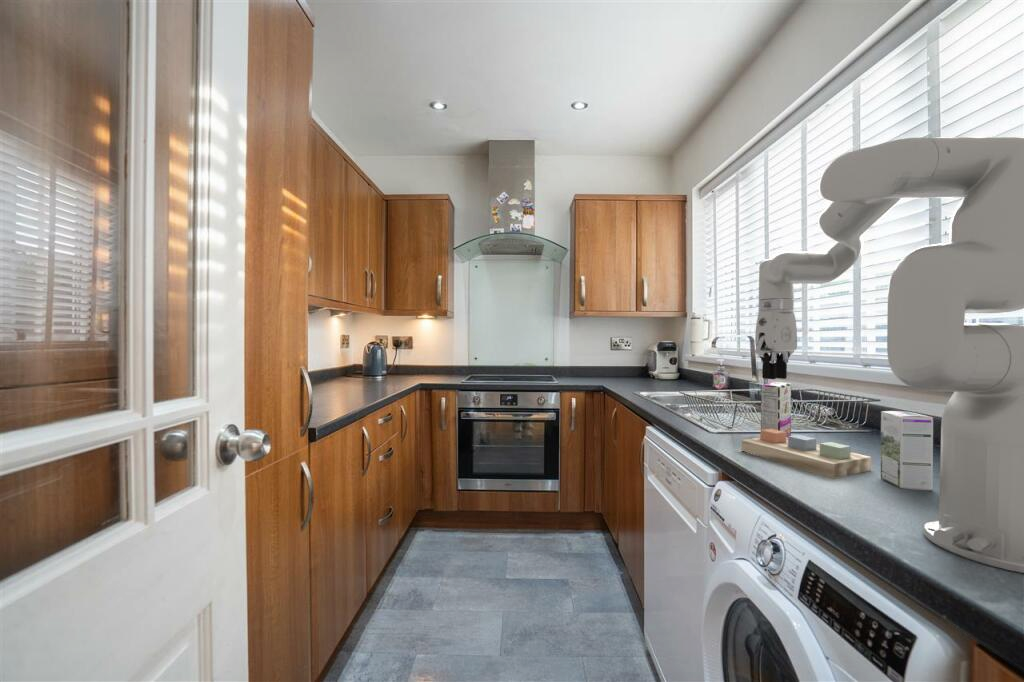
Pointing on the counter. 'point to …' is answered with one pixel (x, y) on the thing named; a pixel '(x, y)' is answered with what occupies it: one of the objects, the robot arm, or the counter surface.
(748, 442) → the button panel
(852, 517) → the counter surface
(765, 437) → the terracotta button
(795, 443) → the slate grey button
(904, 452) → the syrup box
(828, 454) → the sage green button
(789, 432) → the candy bar box
